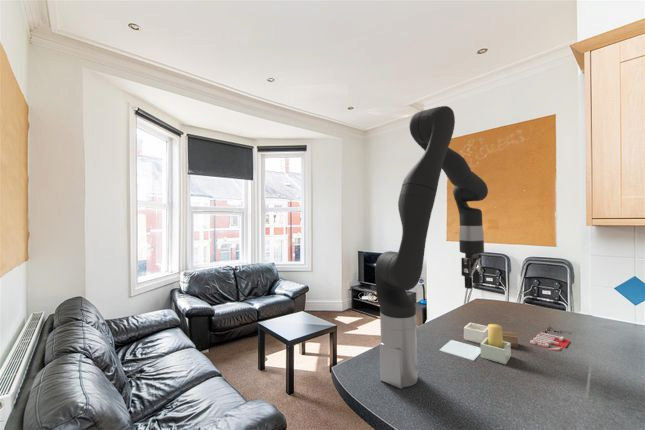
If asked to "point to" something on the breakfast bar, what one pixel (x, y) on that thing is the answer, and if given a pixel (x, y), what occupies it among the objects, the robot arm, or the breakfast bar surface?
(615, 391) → the breakfast bar surface
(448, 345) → the thin white panel
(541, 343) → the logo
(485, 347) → the pot green
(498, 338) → the peg
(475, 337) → the pot white
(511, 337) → the walnut block
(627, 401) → the breakfast bar surface
